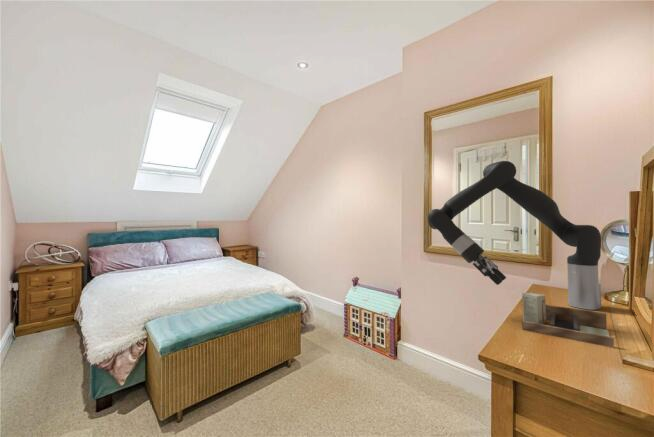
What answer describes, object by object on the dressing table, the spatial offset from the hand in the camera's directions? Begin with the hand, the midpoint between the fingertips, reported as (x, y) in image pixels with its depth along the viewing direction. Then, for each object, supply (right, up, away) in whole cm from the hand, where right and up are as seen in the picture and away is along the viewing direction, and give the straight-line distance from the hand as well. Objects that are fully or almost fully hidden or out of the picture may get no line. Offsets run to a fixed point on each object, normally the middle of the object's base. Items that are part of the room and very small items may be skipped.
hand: (502, 281), depth 100 cm
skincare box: (+7, -13, -6) cm, 16 cm away
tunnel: (+13, -13, -11) cm, 21 cm away
